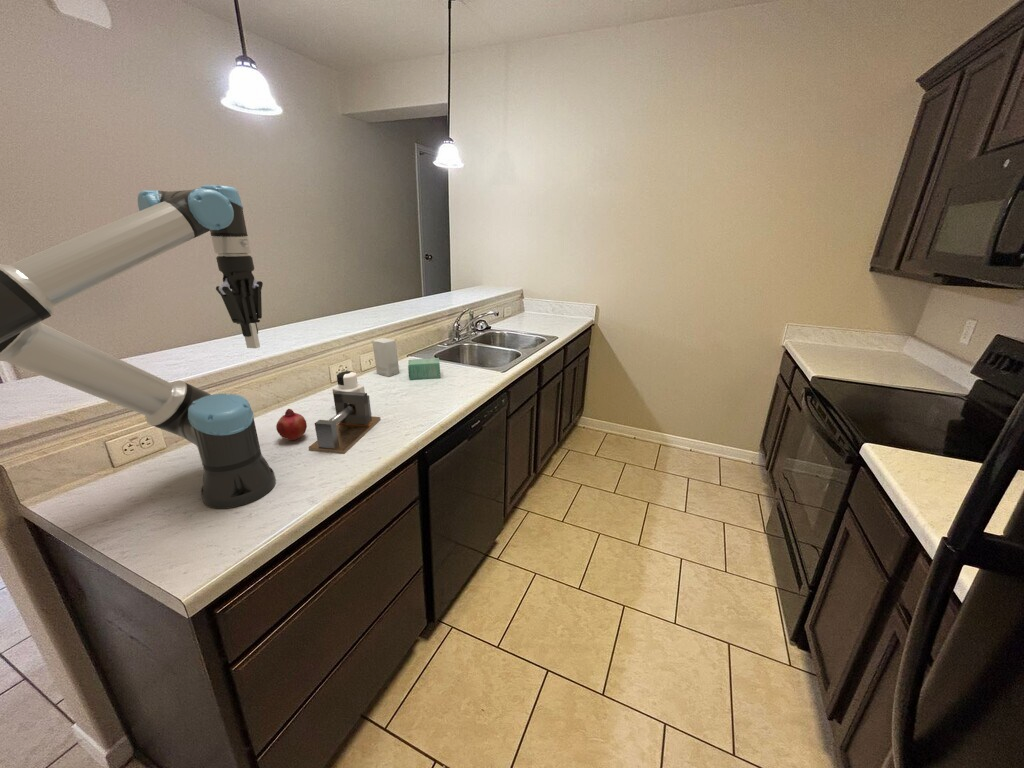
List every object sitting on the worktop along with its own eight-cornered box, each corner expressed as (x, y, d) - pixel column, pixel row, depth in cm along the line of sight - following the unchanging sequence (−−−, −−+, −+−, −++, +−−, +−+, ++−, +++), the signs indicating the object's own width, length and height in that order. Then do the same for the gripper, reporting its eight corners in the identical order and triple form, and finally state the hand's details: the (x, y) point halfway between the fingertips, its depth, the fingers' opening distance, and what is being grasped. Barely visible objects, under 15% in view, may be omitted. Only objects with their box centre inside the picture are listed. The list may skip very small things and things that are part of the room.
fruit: (315, 435, 128) (309, 405, 125) (295, 447, 121) (289, 416, 117) (293, 431, 130) (287, 402, 127) (273, 443, 123) (266, 412, 119)
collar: (366, 425, 130) (363, 395, 127) (337, 422, 132) (333, 393, 128) (370, 421, 133) (366, 393, 129) (341, 419, 134) (337, 390, 131)
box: (409, 375, 183) (407, 359, 180) (439, 373, 185) (439, 357, 183) (409, 380, 176) (407, 364, 173) (440, 378, 179) (440, 362, 176)
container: (334, 408, 147) (329, 374, 143) (351, 401, 154) (347, 368, 149) (350, 412, 144) (345, 377, 139) (366, 405, 150) (362, 371, 146)
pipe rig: (344, 453, 117) (340, 425, 114) (309, 450, 119) (304, 422, 116) (380, 419, 139) (377, 395, 136) (350, 417, 140) (347, 393, 137)
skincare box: (399, 373, 184) (396, 339, 179) (388, 377, 179) (385, 342, 174) (386, 370, 188) (383, 337, 183) (375, 374, 183) (371, 340, 178)
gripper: (226, 256, 95) (247, 354, 103) (266, 254, 107) (282, 342, 115) (197, 256, 96) (221, 353, 104) (240, 253, 108) (258, 340, 116)
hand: (253, 347), depth 110 cm, fingers closed
